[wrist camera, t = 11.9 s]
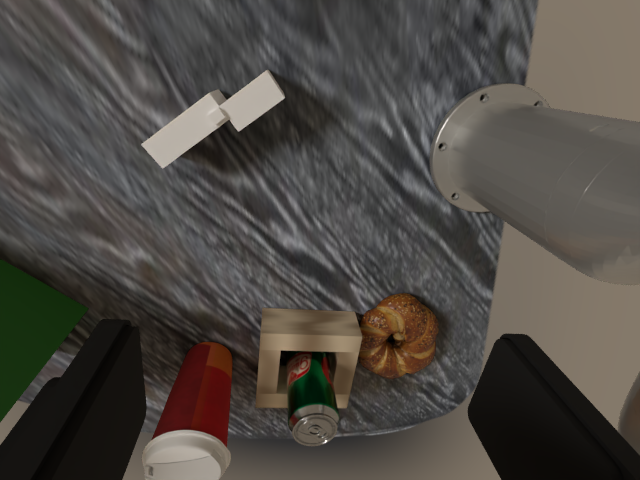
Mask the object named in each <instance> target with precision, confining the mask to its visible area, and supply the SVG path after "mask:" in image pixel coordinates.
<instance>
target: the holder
mask: <svg viewBox="0 0 640 480" xmlns="http://www.w3.org/2000/svg"><path fill="white" fill-rule="evenodd" d="M361 341H362V333H361V330H360V327H359V324H358V321H357V317H356V314H355V312H349V311H325V310H302V309H278V308H263V309H262V323H261V336H260V350H259V363H258V377H257V392H256V407H255V408H287V377H286V366H281V365H279V362H280V353H281V350H283V351H321V352H329V362H330V367H331V373H332V378H333V384H334V390H335V395H336V401H337V407H338V408H347V405H348V400H349V396H350V391H351V387H352V382H353V377H354V373H355V368H356V364H357V359H358V355H359V350H360V346H361Z"/></svg>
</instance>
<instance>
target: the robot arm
mask: <svg viewBox="0 0 640 480" xmlns="http://www.w3.org/2000/svg"><path fill="white" fill-rule="evenodd" d="M481 95H482V98H481V100H480V97H481ZM439 144H441V147H440V148H438V146H439ZM429 161H430V172H431V176H432V179H433V182H434V184H435V186H436V188H437V190H438V191H439V192H440V193H441V195H442V196H443V197H444V198H445V199H446V200H448V201H449V202H450V203H451V204H453V205H455V206H457V207H458V208H460V209H463V210H467V211H470V212H492V213H494V214H495V215H496V216H498V217H499V218H501V219H502V220H504V221H505V222H507V223H508V224H510V225H511V226H513V227H514V228H515V229H517V230H518V231H520V232H521V233H523V234H524V235H526V236H527V237H529V238H530V239H531V240H533V241H535V242H536V243H537V244H539V245H540V246H542V247H543V248H545V249H546V250H548V251H549V252H551V253H552V254H553V255H555V256H557V257H558V258H559V259H561V260H563V261H564V262H566V263H567V264H569V265H570V266H572V267H573V268H575V269H576V270H578V271H580V272H581V273H583V274H585V275H587V276H589V277H592V278H594V279H597V280H600V281H604V282H608V283H613V284H621V285H640V122H636V121H629V120H622V119H617V118H610V117H604V116H597V115H591V114H584V113H578V112H572V111H565V110H559V109H552V108H550V106H549V105H548V103H547V101H546V100H545V99H544V98H543V97H542V96H541V95H540V94H539V93H537V92H536V91H534V90H532V89H530V88H529V87H526V86H522V85H518V84H509V83H502V84H492V85H489V86H485V87H482V88H480V89H478V90H476V91H474V92H472V93H470V94H468V95H467V96H465V97H464V98H463V99H461V100H460V101H458V102H457V103H456V104H455V105H454V106H453V107H452V108H451V109H450V111H449V112H448V113H447V114H446V116H445V117H444V119H443V120H442V121H441V123H440V125H439V127H438V129H437V131H436V133H435V135H434V138H433V142H432V145H431V150H430V158H429ZM453 193H454V194H453ZM452 194H453V195H452ZM145 416H146V396H145V386H144V376H143V366H142V356H141V345H140V335H139V329H138V327H132V326H131V322H130V321H129V320H111V319H103V320H101V321H100V322H99V323H98V325H97V326H96V328H95V329H94V331H93V332H92V334H91V335H90V336H89V338H88V339H87V341H86V342H85V344H84V345H83V346H82V348H81V349H80V351H79V352H78V354H77V355H76V357H75V358H74V359H73V361H72V362H71V364H70V365H69V367H68V368H67V369H66V371H65V372H64V374H63V375H62V377H54V378H52V379H51V380H49V381H48V382H47V383H46V384H45V385H44V386H43V388H42V389H41V390H40V392H39V393H38V395H37V396H36V397H35V399H34V400H33V401H32V403H31V404H30V405H29V407H28V408H27V410H26V411H25V412H24V414H23V415H22V416H21V418H20V419H19V421H18V422H17V423H16V425H15V426H14V427H13V429H12V430H11V431H10V433H9V434H8V436H7V437H6V439H5V440H4V441H3V442H2V444H1V445H0V480H122V479H123V476H124V473H125V471H126V468H127V466H128V463H129V460H130V458H131V455H132V452H133V450H134V447H135V444H136V442H137V439H138V436H139V434H140V431H141V428H142V426H143V423H144V420H145ZM468 417H469V420H470V422H471V424H472V426H473V428H474V430H475V432H476V434H477V435H478V437H479V439H480V441H481V442H482V445H483V446H484V448H485V450H486V452H487V454H488V456H489V457H490V459H491V461H492V463H493V465H494V467H495V469H496V471H497V472H498V474H499V476H500V478H501V480H640V372H639V374H638V376H637V378H636V380H635V382H634V383H633V386H632V387H631V389H630V391H629V393H628V395H627V398H626V400H625V403H624V405H623V408H622V410H621V413H620V417H619V422H618V431H617V430H616V429H615V428H614V427H613V426H612V425H611V424H610V423H609V422H608V421H607V420H606V418H605V417H604V416H603V415H602V414H601V413H600V412H599V411H598V410H597V409H596V408H595V407H594V406H593V404H592V403H591V402H590V401H589V400H588V399H587V398H586V397H585V396H584V395H583V394H582V393H581V391H579V389H578V388H577V387H576V386H575V385H574V384H573V383H572V382H571V381H570V380H569V379H568V378H567V376H566V375H565V374H564V373H563V372H562V371H561V370H560V369H559V368H558V367H557V366H556V365H555V364H554V362H553V361H552V360H550V358H549V357H548V356H547V355H546V354H545V353H544V352H543V351H542V349H540V347H539V346H538V345H537V344H536V343H535V342H534V341H533V340H532V339H531V338H530V337H529V336H527V335H525V334H503V335H502V336H501V337H500V339H498V340H496V342H495V343H494V346H493V348H492V351H491V353H490V355H489V358H488V360H487V363H486V365H485V368H484V370H483V372H482V375H481V377H480V380H479V382H478V384H477V387H476V389H475V392H474V394H473V397H472V399H471V402H470V404H469V406H468Z"/></svg>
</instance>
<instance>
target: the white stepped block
mask: <svg viewBox="0 0 640 480" xmlns="http://www.w3.org/2000/svg"><path fill="white" fill-rule="evenodd" d="M284 98H285V95H284V92H283V91H282V89H281V88H280V86H279V85H278V83H277V82H276V80H275V79H274V77H273V76H272V74H271V73H270V71H269V70H267V71H265V72H264V73H263V74H261V75H260V76H259V77H257V78H256V79H255V80H253V81H252V82H251V83H249V84H248V85H247V86H245V87H244V88H243V89H241V90H240V91H239V92H237V93H236V94H235V95H233V96H232V97H231V98H229V99H228V100H226V99H225V97H224V96H223V94H222V93H221V92H220V90H219V89H218V90H215V91H213V92H210V93H208V94H207V95H206V96H204V97H203V98H202V99H200V100H199V101H198V102H196V103H195V104H194V105H193V106H191V107H190V108H189V109H187V110H186V111H185V112H183V113H182V114H181V115H179V116H178V117H177V118H175V119H174V120H173V121H171V122H170V123H169V124H168V125H166V126H165V127H164V128H162V129H161V130H160V131H158V132H157V133H156V134H154V135H153V136H152V137H150V138H149V139H148V140H146V141H145V142H144V143H143V144H141V145H142V146H143V147H144V148H145V150H146V151H147V152H148V153H149V154H150V155H151V156H152V157H153V158H154V160H155V161H156V162H157V163H158V164H159V165H160V166H161V167H162V169H163V168H164V167H165V166H167V165H168V164H170V163H171V162H172V161H174V160H175V159H176V158H178V157H179V156H180V155H182V154H183V153H184V152H186V151H187V150H189V149H190V148H191V147H193V146H194V145H195V144H197V143H198V142H199V141H201V140H202V139H203V138H205V137H206V136H207V135H209V134H210V133H212V132H213V131H214V130H216V129H217V128H218V127H220V126H221V125H222V124H224V123H225V122H226V121H228V120H230V121H231V123H232V124H233V125H234V127H235V128H236V129H237V131H238V132H239V131H240V130H242V129H243V128H245V127H246V126H247V125H249V124H250V123H251V122H253V121H254V120H256V119H257V118H258V117H260V116H261V115H262V114H264V113H265V112H267V111H268V110H269V109H271V108H272V107H273V106H275V105H276V104H278V103H279V102H280V101H282V100H283V99H284Z"/></svg>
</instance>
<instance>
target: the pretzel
mask: <svg viewBox="0 0 640 480" xmlns="http://www.w3.org/2000/svg"><path fill="white" fill-rule="evenodd" d="M360 330H361V333H362V341H361V346H360V350H359V355H358V360H359V363H361V365H362V366H363V367H364V368H366V369H368V370H369V371H372V372H374V373H375V374H378V375H380V376H382V377H384V378H388V379H394V378H399V377H401V376H403V375H404V374H406V373H410V374H415V373H416V372H418V371H420V370H422V369H424V368H425V367H426V366H427V365H429V364H430V363H431V361H432V360H433V358H434V356H435V351H436V341H435V340H436V336H437V333H438V330H439V329H438V322H437V319H436V316H435V315H434V314H433V312H432V311H431V310H430V309H429V308H427V307H426V306H425V305H423V304H421V303H420V302H419V301H418V300H417V299H416V298H414V297H413V296H411V295H410V294H405V293H403V294H394V295H391V296H389V297H387V298H385V299H383V300H382V301H381V302H380V303H379V304H378V305H377V307H376V308H374V309H371V310H368V311H367V312H366V313H365V314H364V315H363V317H362V319H361V322H360ZM390 335H391V336H392V338H394V340H395V341H394V343H391V342H388V341H387V338H388V337H389V336H390Z"/></svg>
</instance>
